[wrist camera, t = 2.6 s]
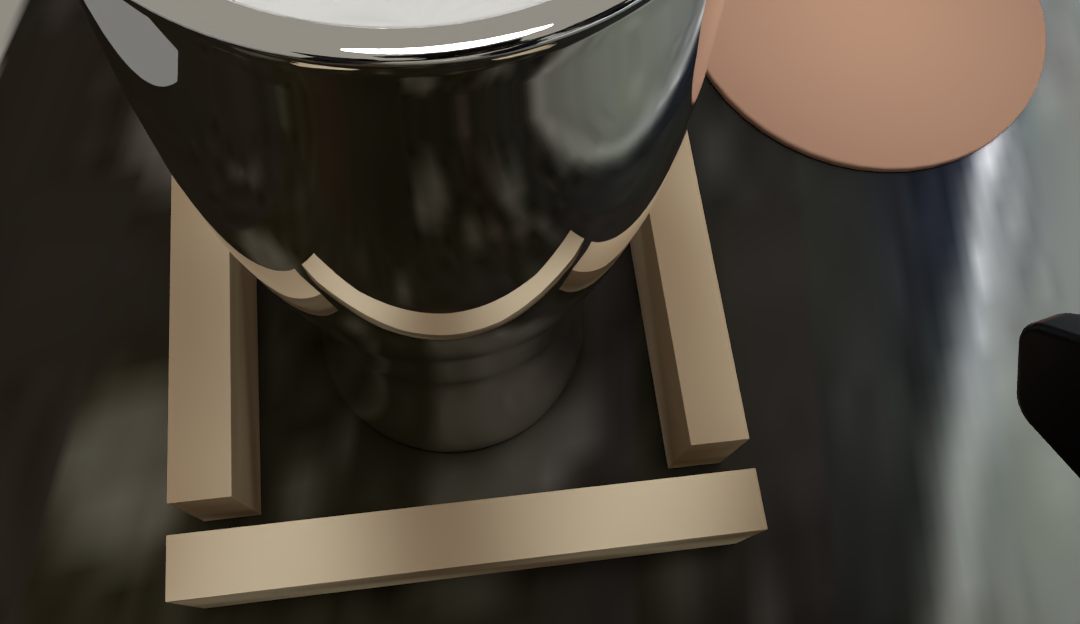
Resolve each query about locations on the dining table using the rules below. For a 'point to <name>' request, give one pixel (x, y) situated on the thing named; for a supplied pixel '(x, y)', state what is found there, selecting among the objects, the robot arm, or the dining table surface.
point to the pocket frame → (462, 527)
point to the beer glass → (421, 175)
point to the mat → (879, 75)
